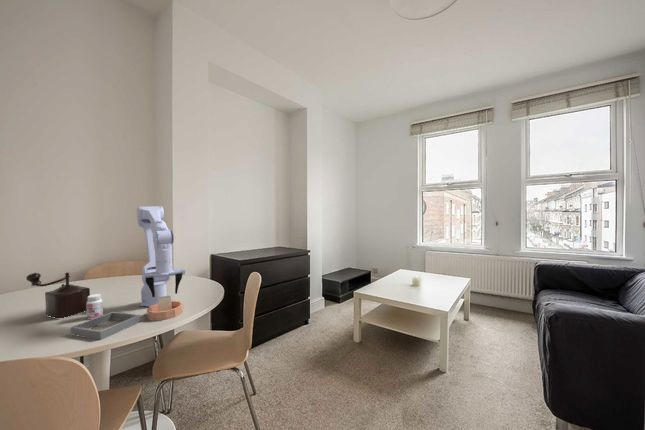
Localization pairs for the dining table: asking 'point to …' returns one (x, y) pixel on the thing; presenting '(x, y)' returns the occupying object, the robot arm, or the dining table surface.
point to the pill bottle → (94, 306)
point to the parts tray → (97, 334)
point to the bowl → (162, 315)
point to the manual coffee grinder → (63, 297)
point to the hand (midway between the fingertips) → (165, 294)
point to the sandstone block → (165, 303)
